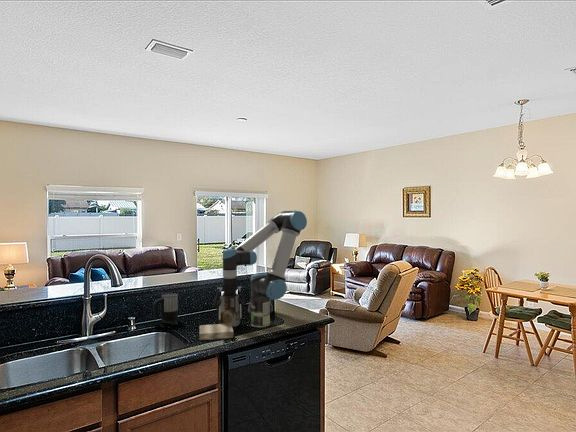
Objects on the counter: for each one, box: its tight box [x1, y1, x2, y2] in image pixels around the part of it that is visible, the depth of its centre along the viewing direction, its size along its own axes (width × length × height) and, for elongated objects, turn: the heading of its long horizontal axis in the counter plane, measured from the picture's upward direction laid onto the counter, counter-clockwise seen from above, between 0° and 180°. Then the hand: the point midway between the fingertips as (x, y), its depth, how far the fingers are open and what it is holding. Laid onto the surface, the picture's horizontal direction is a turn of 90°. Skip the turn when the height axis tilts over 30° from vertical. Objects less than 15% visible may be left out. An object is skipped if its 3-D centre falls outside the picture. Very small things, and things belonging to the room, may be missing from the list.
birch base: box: [198, 323, 234, 341], centre depth 183 cm, size 16×14×3 cm
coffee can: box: [250, 297, 271, 328], centre depth 199 cm, size 10×10×14 cm
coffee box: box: [219, 293, 241, 327], centre depth 200 cm, size 9×6×16 cm
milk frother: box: [152, 292, 179, 327], centre depth 203 cm, size 14×16×15 cm
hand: (230, 318), depth 200 cm, fingers closed on coffee box, 10 cm apart
